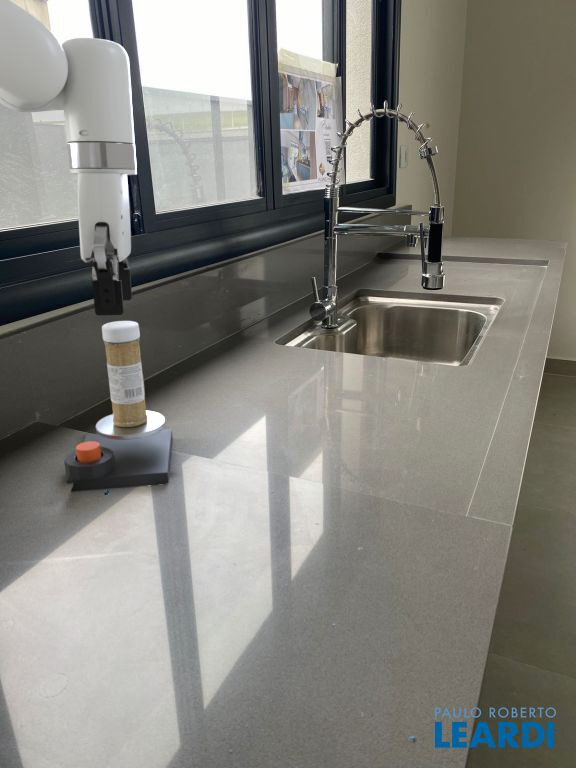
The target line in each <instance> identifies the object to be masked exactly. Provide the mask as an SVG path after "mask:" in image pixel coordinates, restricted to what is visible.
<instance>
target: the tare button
mask: <svg viewBox="0 0 576 768" xmlns="http://www.w3.org/2000/svg"><path fill="white" fill-rule="evenodd" d="M75 451H76V452H77V459H78V462H92V461H96V460H98V459H100V458H101V450H100V444H99V443H98V442H95V441H88V442H83V441H82V442H81V443H79V444H77V445H76V447H75Z"/></svg>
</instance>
